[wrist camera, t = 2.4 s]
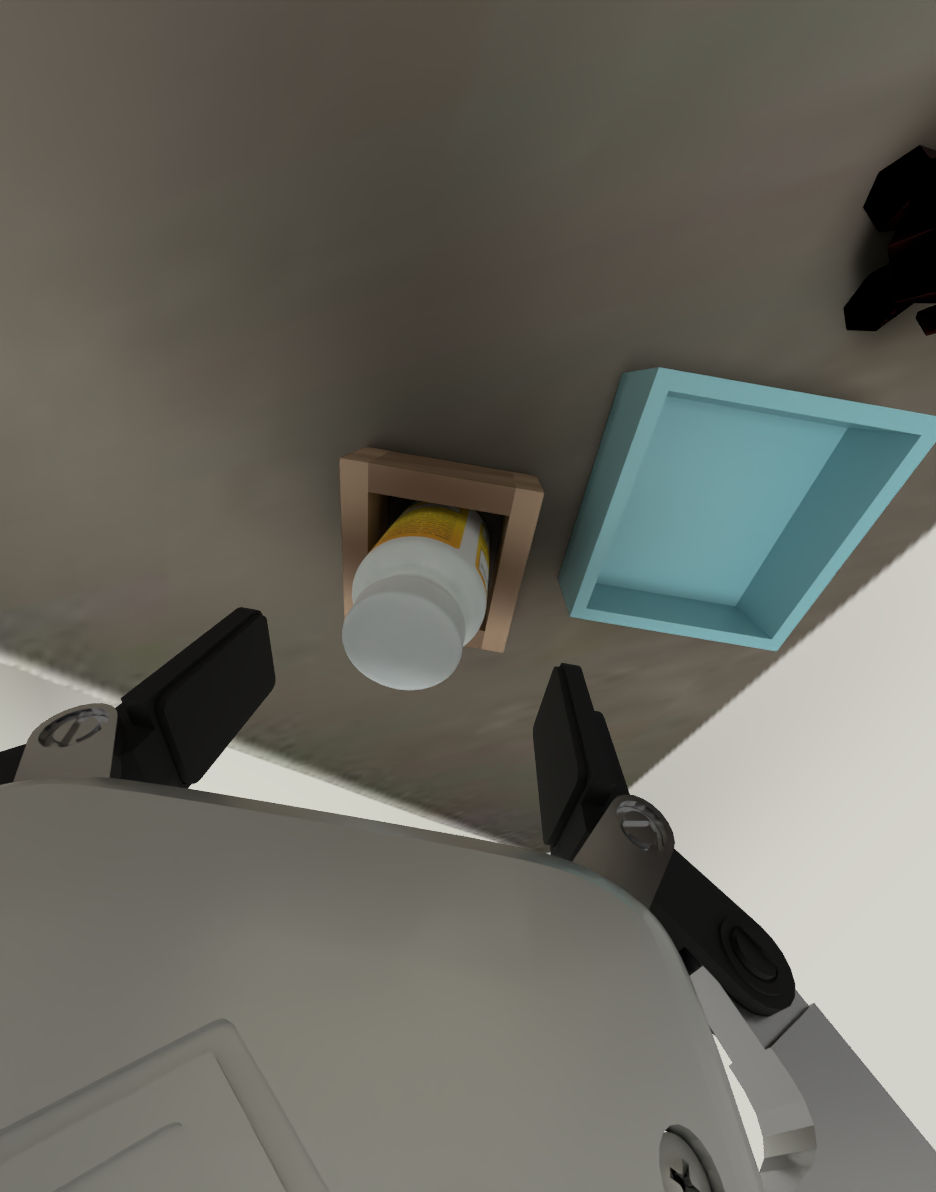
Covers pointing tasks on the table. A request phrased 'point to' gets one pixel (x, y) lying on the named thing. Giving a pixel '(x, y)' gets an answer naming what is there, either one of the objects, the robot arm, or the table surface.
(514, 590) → the hollow wooden block
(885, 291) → the cat figurine
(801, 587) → the tray
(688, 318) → the table surface
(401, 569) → the supplement bottle
